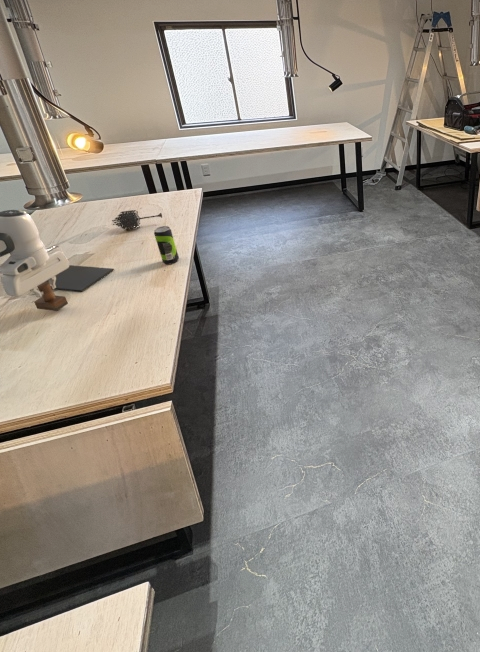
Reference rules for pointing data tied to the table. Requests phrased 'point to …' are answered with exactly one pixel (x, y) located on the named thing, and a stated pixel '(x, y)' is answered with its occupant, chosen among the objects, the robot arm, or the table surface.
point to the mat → (79, 277)
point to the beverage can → (166, 244)
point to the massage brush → (130, 219)
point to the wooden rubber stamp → (49, 299)
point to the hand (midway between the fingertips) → (46, 292)
